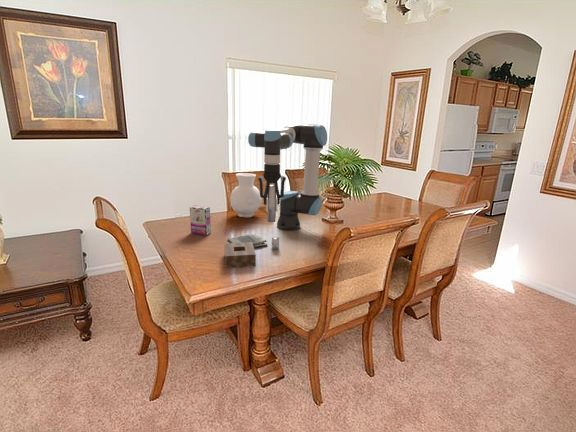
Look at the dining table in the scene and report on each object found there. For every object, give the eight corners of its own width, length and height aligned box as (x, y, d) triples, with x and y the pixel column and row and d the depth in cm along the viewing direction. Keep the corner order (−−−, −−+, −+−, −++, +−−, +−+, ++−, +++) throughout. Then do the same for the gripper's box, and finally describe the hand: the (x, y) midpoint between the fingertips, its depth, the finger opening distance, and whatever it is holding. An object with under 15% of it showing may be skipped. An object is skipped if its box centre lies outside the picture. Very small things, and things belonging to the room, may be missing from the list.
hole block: (252, 253, 173) (252, 242, 172) (255, 266, 158) (255, 254, 157) (224, 254, 170) (224, 243, 169) (225, 268, 156) (225, 256, 154)
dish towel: (226, 241, 190) (226, 236, 189) (255, 236, 198) (255, 231, 198) (238, 252, 174) (238, 247, 174) (269, 247, 183) (269, 242, 182)
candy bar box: (211, 233, 200) (210, 207, 195) (206, 236, 196) (205, 209, 191) (195, 230, 204) (194, 204, 199) (190, 233, 199) (189, 206, 194)
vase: (265, 217, 235) (266, 175, 227) (238, 221, 224) (237, 177, 215) (253, 210, 250) (253, 171, 241) (226, 214, 238) (225, 173, 230)
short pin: (278, 247, 182) (278, 237, 180) (279, 250, 178) (279, 239, 177) (271, 247, 181) (271, 237, 180) (272, 250, 178) (272, 239, 176)
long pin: (274, 219, 168) (275, 184, 162) (276, 222, 164) (276, 186, 159) (266, 220, 167) (267, 184, 162) (268, 222, 163) (268, 186, 158)
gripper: (288, 162, 162) (286, 208, 169) (253, 162, 159) (253, 209, 166) (291, 164, 155) (290, 212, 162) (255, 164, 152) (255, 213, 159)
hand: (271, 210), depth 164 cm, fingers closed on long pin, 4 cm apart
